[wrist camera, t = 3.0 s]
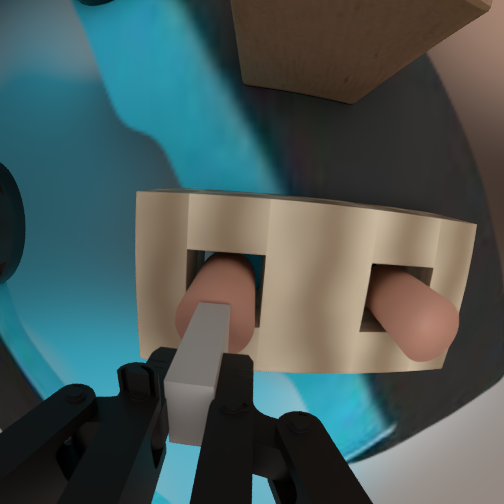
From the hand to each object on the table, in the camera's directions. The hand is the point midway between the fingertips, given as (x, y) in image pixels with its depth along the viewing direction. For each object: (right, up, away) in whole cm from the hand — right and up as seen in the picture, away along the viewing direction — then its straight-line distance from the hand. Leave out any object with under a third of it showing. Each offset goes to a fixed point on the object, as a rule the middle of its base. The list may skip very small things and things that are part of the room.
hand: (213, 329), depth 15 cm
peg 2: (+12, +1, +9) cm, 15 cm away
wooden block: (+7, +22, +9) cm, 25 cm away
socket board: (+6, +3, +13) cm, 15 cm away
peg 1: (0, +2, +9) cm, 9 cm away
